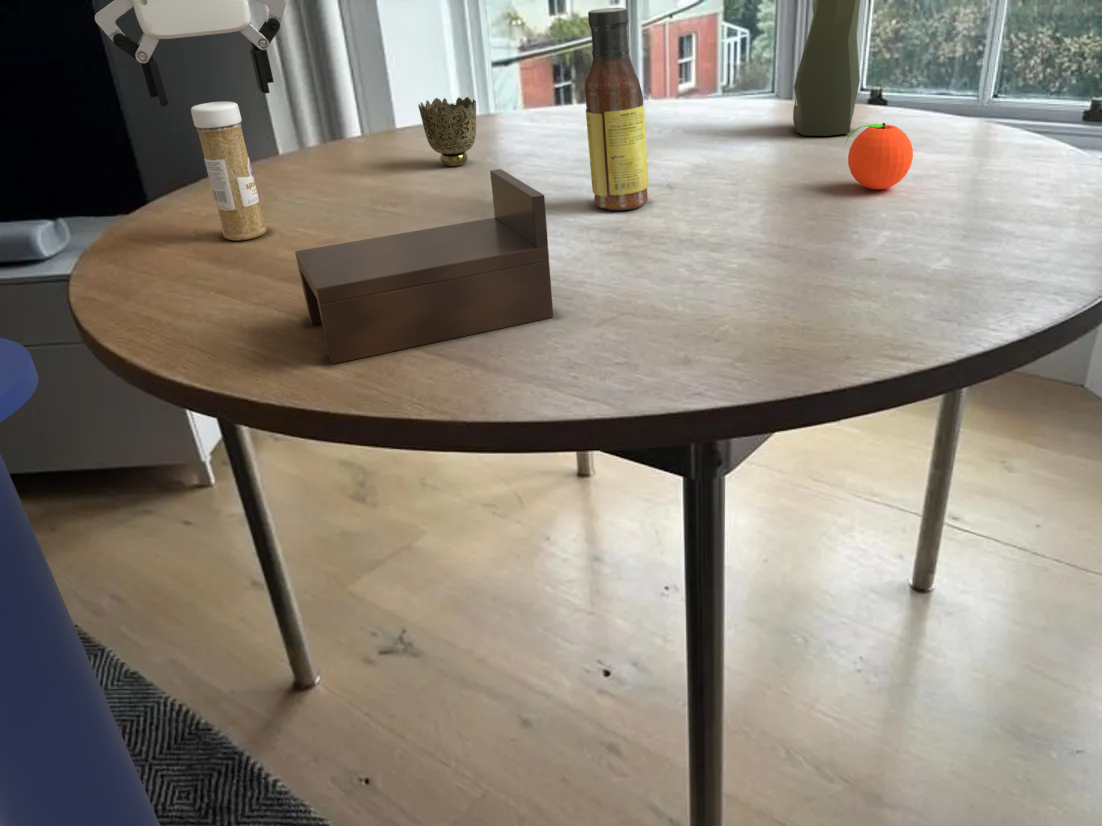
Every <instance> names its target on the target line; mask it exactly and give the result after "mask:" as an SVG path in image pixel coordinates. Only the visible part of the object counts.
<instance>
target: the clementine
mask: <svg viewBox="0 0 1102 826" xmlns="http://www.w3.org/2000/svg"><path fill="white" fill-rule="evenodd" d="M862 128H865V129H864V130H863V131H861V132H859V134H857V136H856V137H855V139H853V141H852V143H851V145H850V148H849V151H848V155H847V165H848V166H847V167H848V168H849V172H850V175H852V177H853V179H854V180H855V181H856V182H857V183H858V184H860V185H861V186H862V187H865V188H868V189H870V190H874V191H875V190H879V191H880V190H885V189H888V188H892V187H893V186H895V185H897V184H898V183H900V182H901V181H902V180H903V179H904V178H905V177H906V176H907V174H908V172H909V171H910V169H911V167H912V163H913V160H914V149H913V144H912V142H911V140H910V138H909V136H908V135H907V134H906V132H904V130H901V128H899V127H898V126H896V125H891V124H886V122H882V123H881V124H880V123H870V124H865V125H862V126H860V127H857V128H855V129H854V130H852V131H850V133H849V134H848V136H847V138H846V140H845V143H844V144H847V142H848V140H849V138H850V137H851V135H852V134H853V133H855V132H856V131H857V130H859V129H862Z"/></svg>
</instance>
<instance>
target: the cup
mask: <svg viewBox="0 0 1102 826" xmlns="http://www.w3.org/2000/svg"><path fill="white" fill-rule="evenodd" d="M447 100H448V99H447V98H446V97H443V99H442V100H441V99H440V98H438V97H435V98H434V99H433V101H432V102H430V101H429V100H428V99H427V100H426V101H425V104H424V103H423V102H422V101H421V102H420V103H418V110H419V114H420V118H421V123H422V127H423V130H424V134H425V137H426V141H427V142H428V145H429V146H430V148H431V149H432V150H433V151H435V153H438V154H440V157H439V161H440V163H441V164H442V165H443V166H445V167H461V166H463V165H465V164H466V163H467V162H468V159H469V156H468V153H467V152H468V151H469V150H471V149H472V147H473V145H474V143H475V141H476V135H477V100H475V98H473V100H471V98H470V97H469V96H466V97H465V98H464V99H462V97H459V96H458V97H457V99H455V101H456V102H455V103H453V102H451V103H449V102H448V101H447Z"/></svg>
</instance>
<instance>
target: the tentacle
mask: <svg viewBox="0 0 1102 826" xmlns="http://www.w3.org/2000/svg"><path fill="white" fill-rule="evenodd" d="M860 2H861V0H812V13H813V16H812V19H811V23H810V27H809V32H808V35H807V38H806V42H805V45H804V48H803V51H802V55H801V59H800V62H799V64H798V65H799V66H798V69H797V72H796V77H795V81H794V85H793V90H794V105H793V110H792V111H793V113H792V114H793V115H792V121H793V126H794V130H795V132H796V133H798V134H800V135H802V136H820V137H823V136H824V137H830V136H834V135H835V136H836V135H844V134H850V133H851V125H852V121H853V118H854V117H853V116H854V113H855V107H856V103H857V97H858V92H859V87H860V81H861V77H860V65H859V51H858V39H857V37H858V36H857V31H858V21H859V20H858V19H859V11H860Z"/></svg>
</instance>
